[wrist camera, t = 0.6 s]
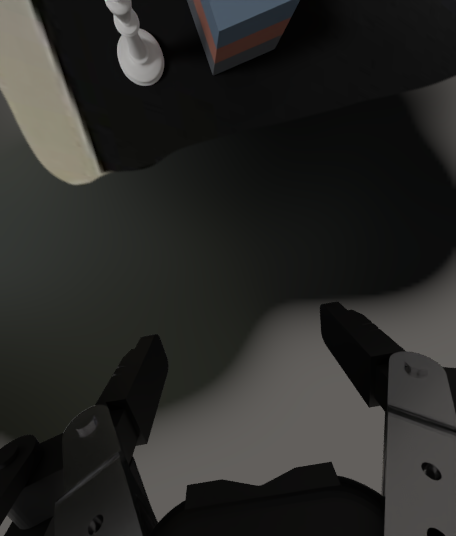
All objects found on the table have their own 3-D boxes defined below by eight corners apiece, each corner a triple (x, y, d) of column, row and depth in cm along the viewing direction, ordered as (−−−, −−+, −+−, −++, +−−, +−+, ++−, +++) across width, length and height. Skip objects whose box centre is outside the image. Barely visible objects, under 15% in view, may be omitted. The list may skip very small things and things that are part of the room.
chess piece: (172, 57, 25) (158, -30, 15) (148, 96, 26) (120, 36, 16) (133, 19, 23) (91, -103, 14) (109, 61, 24) (53, -27, 15)
